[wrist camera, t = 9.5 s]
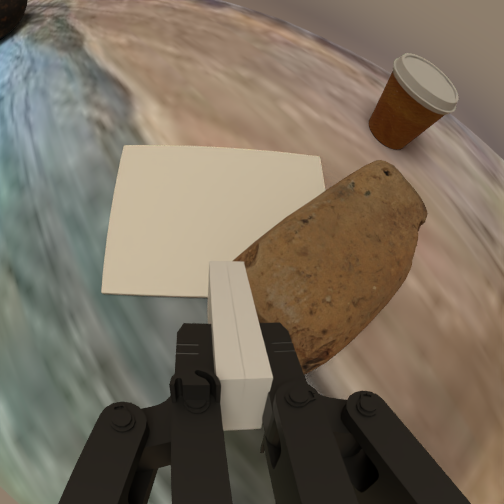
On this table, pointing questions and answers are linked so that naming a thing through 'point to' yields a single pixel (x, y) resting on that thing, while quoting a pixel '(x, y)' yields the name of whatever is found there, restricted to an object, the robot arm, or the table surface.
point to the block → (336, 260)
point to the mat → (196, 212)
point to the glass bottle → (10, 14)
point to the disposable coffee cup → (411, 101)
